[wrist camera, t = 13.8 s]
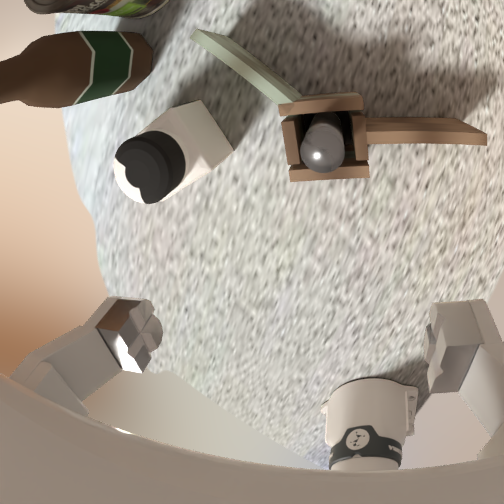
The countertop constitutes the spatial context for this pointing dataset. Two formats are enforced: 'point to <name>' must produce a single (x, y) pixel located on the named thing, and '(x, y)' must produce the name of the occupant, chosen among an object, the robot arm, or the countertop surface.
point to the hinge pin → (323, 143)
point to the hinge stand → (361, 127)
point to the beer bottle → (75, 68)
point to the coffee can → (98, 7)
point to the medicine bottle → (170, 153)
